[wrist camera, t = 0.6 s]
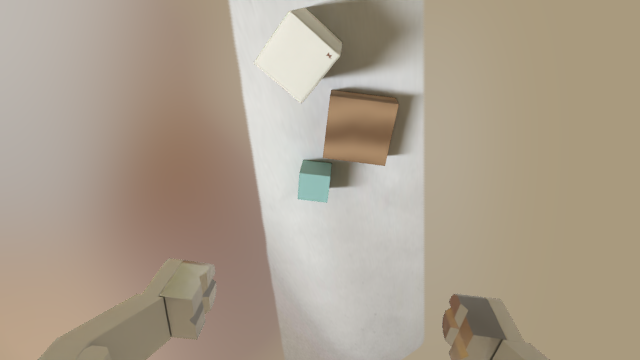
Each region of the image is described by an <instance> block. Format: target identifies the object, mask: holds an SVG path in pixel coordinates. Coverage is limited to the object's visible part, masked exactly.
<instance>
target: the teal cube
mask: <svg viewBox="0 0 640 360" xmlns="http://www.w3.org/2000/svg"><path fill="white" fill-rule="evenodd" d="M331 165H332V163H325V162H317V161H308V160H303V162H302V166H301V170H300V175H299V189H298V199H301V200H310V201H318V202H326V203H327V200H328V192H329V184H330V176H331Z"/></svg>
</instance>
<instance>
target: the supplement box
mask: <svg viewBox="0 0 640 360" xmlns="http://www.w3.org/2000/svg"><path fill="white" fill-rule="evenodd" d="M342 44H343V43H342V42H341V41H340V40H339V39H338V38H337V37H336V36H335V35H334V34H333V33H332V32H331V31H330V30H329V29H328V28H327V27H326V26H324V25H323V24H322V23H321V22H320V21H319V20H318V19H317V18H316V17H315V16H314V15H313V14H311V13H310V12H309V11H308V10H307V9H306V8H301V9H297V10H292V11H289V12H288V13H287V15H286V16H285V18H284V19H283V20H282V22H281V23H280V25H279V26H278V28H277V29H276V30H275V32H274V33H273V35H272V36H271V38H270V39H269V41H268V42H267V44H266V45H265V47H264V48H263V50H262V51H261V53H260V54H259V56H258V57H257V59H256V60H255V62H254V64H255V65H256V66H257V67H258V68H260V69H261V70H262V71H263V72H265V73H266V74H267V75H268V76H269V77H270V78H272V79H273V80H274V81H275V82H276V83H277V84H279V85H280V86H281V87H282V88H283V89H284V90H285V91H287V92H288V93H289V94H290V95H291V96H292V97H294V98H295V99H296V100H297V101H298V102H299V103H302V102H303V101H304V100H305V99H306V98H307V96H308V95H309V94H310V93H311V92H312V90H313V89H314V88H315V87H316V85H317V84H318V83H319V82H320V81H321V80H322V78H323V77H324V76H325V74H326V73H327V72H328V71H329V69H330V68H331V67H332V66H333V65H334V63H335V62H336V61H337V60H338V59H339V57H340V56H341V50H342Z"/></svg>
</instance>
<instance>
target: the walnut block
mask: <svg viewBox="0 0 640 360" xmlns="http://www.w3.org/2000/svg"><path fill="white" fill-rule="evenodd" d="M398 106H399V104H398V102H397V100H396V98H393V97H385V96H377V95H369V94H360V93H352V92H344V91H336V90H331V95H330V102H329V111H328V119H327V127H326V136H325V144H324V152H323V158H328V159H336V160H344V161H352V162H359V163H367V164H375V165H383V166H385V163H386V158H387V154H388V150H389V145H390V141H391V136H392V132H393V128H394V123H395V119H396V115H397V110H398Z"/></svg>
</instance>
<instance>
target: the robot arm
mask: <svg viewBox="0 0 640 360" xmlns="http://www.w3.org/2000/svg"><path fill="white" fill-rule="evenodd" d="M214 274H215V267H214V265H213V264H207V263H200V262H194V261H187V260H178V259H172V258H170V259H168V260H167V261H166V262H165V263H164V264H163V266H162V267H161V268H160V270H159V271H158V272H157V274H156V275H155V277H154V278H153V279H152V281H151V282H150V284H149V285H148V286H147V288H146V289H145V290H144V292H143V293H142V294H136V295H134V296H133V297H131V298H129V299H127V300H125V301H124V302H122V303H120V304H118V305H116V306H115V307H113V308H111V309H109V310H107V311H106V312H104V313H102V314H100V315H98V316H97V317H95V318H93V319H91V320H89V321H88V322H86V323H84V324H82V325H80V326H79V327H77V328H75V329H73V330H71V331H70V332H68V333H66V334H64V335H63V336H61V337H59V338H57V339H56V340H55V341H54V342H53V343H52V344H51V345H50V347H49V348H48V349H47V350H46V351H45V352H44V354H43V355H42V356H41V357H40V358H39V359H38V360H146V359H147V358H148V357H150V356H151V355H152V354H153V353H154V352H155V351H157V350H158V349H159V348H160V347H161V346H163V345H164V344H165V343H166V342H167V341H169V340H170V339H171V338H170V337H176V338H186V339H196V340H197V339H198V336H199V334H200V332H201V330H202V327H203V325H204V323H205V314H206V313H207V312H209V311H210V310H211V308H212V305H213V303H214V299H215V295H216V282H215V281H214V280H213V279H212V278H213V276H214ZM449 303H450V306H451V308H449V309H448V310H446V311H445V314H444V316H443V323H442V328H443V334H444V338H445V340H446V341H447V342H448V344H449V345H450V346H451V349H450V351H449V355H450V358H451V360H550V359H548V358H547V357H546V356H545V355H544V354H542V353H541V352H540V351H539V350H537V349H536V348H535V347H534V346H533V345H531V344H530V343H525V341H524V339H523V338H522V336H521V334H520V332H519V330H518V328H517V327H516V325H515V323H514V321H513V319H512V317H511V316H510V314H509V312H508V310H507V308H506V306H505V305H504V303H503V302H502V301H501V300H500V299H496V298H487V297H478V296H468V295H460V294H453V295H452V296H451V298H450V301H449Z"/></svg>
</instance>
